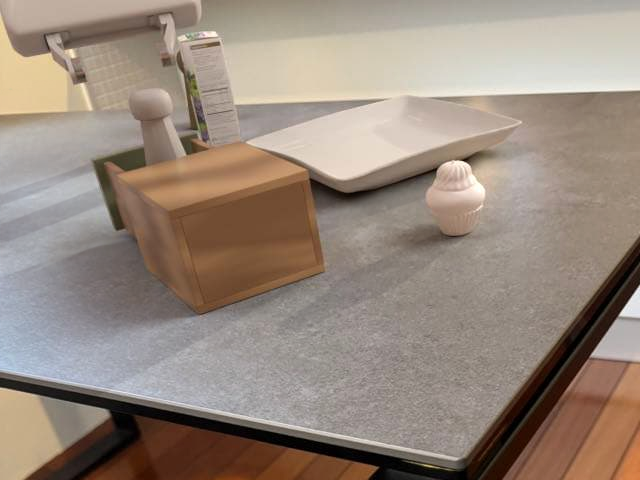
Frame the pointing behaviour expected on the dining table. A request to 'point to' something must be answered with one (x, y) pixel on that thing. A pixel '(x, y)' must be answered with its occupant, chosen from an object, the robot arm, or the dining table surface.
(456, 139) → the square plate
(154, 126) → the salt shaker
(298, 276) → the cabinet
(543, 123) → the dining table surface
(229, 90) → the syrup box
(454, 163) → the muffin
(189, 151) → the drawer
